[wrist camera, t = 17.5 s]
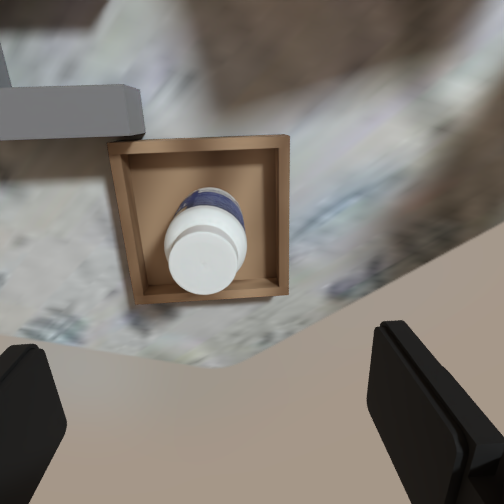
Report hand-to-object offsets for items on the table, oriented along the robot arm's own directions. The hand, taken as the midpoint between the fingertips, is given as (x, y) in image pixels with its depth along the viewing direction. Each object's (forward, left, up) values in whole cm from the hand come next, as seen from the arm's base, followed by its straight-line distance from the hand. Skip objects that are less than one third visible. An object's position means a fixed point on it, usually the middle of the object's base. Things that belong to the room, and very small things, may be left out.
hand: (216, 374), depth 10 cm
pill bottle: (+1, +1, -20) cm, 20 cm away
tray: (+1, +1, -21) cm, 21 cm away
